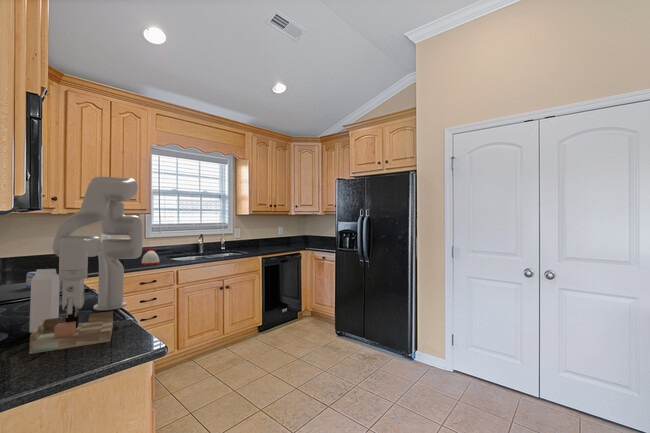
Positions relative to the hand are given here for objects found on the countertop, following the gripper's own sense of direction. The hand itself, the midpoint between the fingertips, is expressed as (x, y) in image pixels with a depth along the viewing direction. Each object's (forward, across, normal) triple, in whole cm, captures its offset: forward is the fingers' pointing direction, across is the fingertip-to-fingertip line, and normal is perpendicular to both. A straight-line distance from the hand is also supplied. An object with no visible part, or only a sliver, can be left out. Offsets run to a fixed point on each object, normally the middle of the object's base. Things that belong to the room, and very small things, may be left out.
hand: (71, 328), depth 104 cm
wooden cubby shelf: (+4, 0, -1) cm, 4 cm away
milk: (+4, +16, +10) cm, 20 cm away
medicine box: (+4, +102, +29) cm, 107 cm away
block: (+1, -4, +1) cm, 5 cm away
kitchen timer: (+5, +179, -32) cm, 182 cm away
